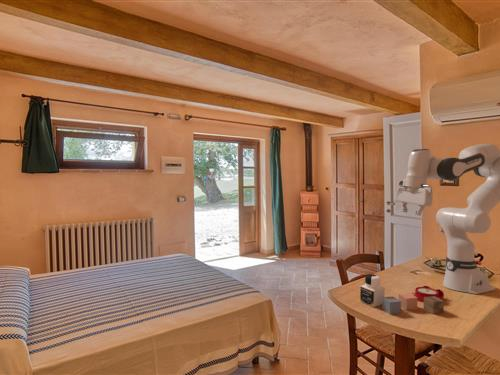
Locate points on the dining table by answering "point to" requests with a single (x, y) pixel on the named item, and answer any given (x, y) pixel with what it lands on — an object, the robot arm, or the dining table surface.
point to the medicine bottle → (372, 291)
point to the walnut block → (433, 305)
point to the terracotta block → (408, 301)
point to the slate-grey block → (391, 305)
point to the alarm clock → (427, 293)
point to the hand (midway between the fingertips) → (411, 213)
